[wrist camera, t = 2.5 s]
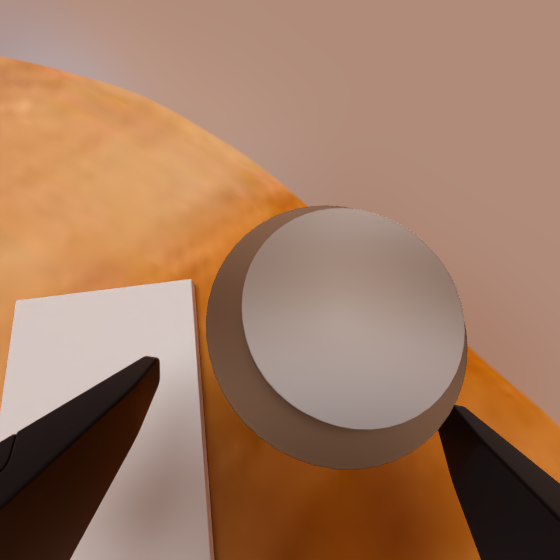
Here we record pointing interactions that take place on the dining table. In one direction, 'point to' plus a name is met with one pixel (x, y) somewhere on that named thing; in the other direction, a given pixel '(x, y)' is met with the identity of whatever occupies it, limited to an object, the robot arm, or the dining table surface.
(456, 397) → the pepper mill
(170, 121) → the dining table surface
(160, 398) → the grey board
